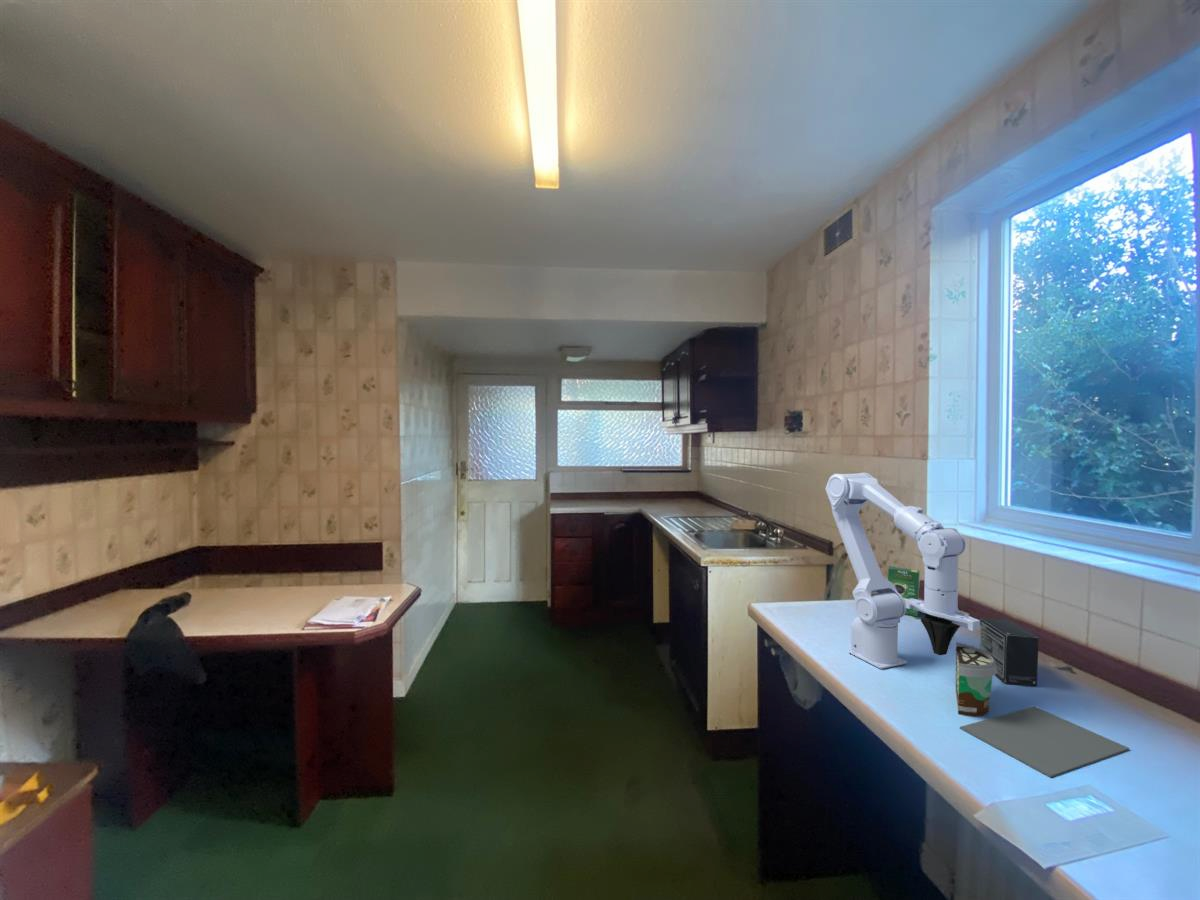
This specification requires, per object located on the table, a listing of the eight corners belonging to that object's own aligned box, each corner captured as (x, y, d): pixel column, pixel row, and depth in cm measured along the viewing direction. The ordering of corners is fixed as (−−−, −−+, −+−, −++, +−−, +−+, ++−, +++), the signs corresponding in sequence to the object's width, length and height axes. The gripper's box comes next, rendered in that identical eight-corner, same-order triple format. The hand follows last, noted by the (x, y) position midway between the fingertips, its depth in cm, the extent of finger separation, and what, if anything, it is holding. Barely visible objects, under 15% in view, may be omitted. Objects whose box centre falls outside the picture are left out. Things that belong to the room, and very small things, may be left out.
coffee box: (919, 614, 149) (919, 569, 149) (918, 617, 147) (919, 571, 147) (887, 609, 154) (888, 565, 153) (886, 612, 152) (886, 567, 151)
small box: (1040, 687, 107) (1041, 637, 106) (1004, 684, 108) (1005, 635, 108) (1010, 664, 117) (1011, 618, 117) (978, 662, 118) (979, 617, 118)
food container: (1000, 727, 92) (1001, 672, 92) (958, 717, 96) (959, 664, 95) (992, 697, 103) (993, 647, 103) (955, 689, 106) (955, 641, 106)
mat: (959, 728, 92) (959, 726, 92) (1034, 707, 99) (1034, 706, 99) (1050, 777, 79) (1050, 775, 79) (1129, 749, 86) (1129, 748, 86)
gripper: (991, 595, 100) (990, 665, 100) (922, 576, 114) (921, 637, 114) (965, 600, 98) (964, 671, 98) (898, 579, 111) (897, 642, 112)
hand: (940, 653), depth 106 cm, fingers closed
